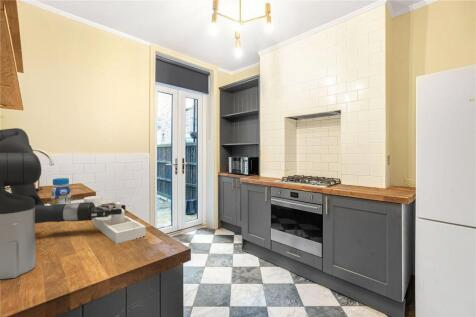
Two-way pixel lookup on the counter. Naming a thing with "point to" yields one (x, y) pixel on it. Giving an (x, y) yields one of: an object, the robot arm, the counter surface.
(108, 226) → the rack
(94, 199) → the white cup
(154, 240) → the counter surface
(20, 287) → the counter surface
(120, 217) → the eye dropper bottle
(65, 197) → the beverage bottle
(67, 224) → the counter surface
